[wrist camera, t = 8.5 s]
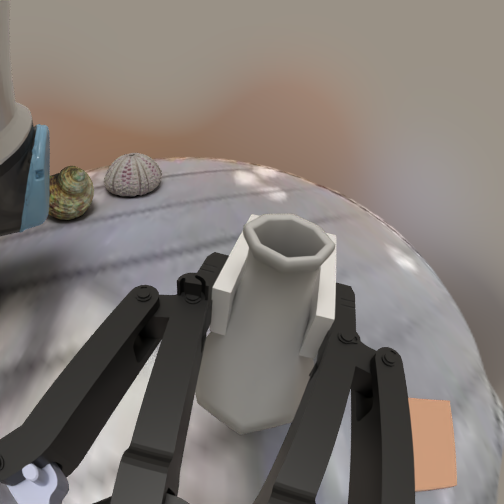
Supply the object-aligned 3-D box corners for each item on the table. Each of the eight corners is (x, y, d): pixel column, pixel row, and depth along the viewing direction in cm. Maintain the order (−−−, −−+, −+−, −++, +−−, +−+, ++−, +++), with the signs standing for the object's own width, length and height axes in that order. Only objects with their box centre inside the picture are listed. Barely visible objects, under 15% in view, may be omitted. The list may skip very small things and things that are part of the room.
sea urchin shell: (142, 206, 56) (141, 168, 51) (92, 195, 57) (89, 161, 53) (171, 182, 67) (172, 149, 62) (125, 173, 68) (124, 143, 63)
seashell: (77, 195, 56) (72, 153, 50) (104, 211, 52) (100, 163, 47) (38, 214, 48) (29, 169, 43) (60, 234, 45) (50, 183, 39)
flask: (234, 457, 12) (274, 350, 6) (168, 357, 17) (156, 207, 11) (334, 392, 16) (416, 263, 10) (264, 317, 20) (296, 183, 15)
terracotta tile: (452, 487, 18) (456, 485, 18) (362, 494, 19) (366, 492, 19) (445, 403, 28) (449, 400, 27) (367, 396, 29) (370, 393, 29)
